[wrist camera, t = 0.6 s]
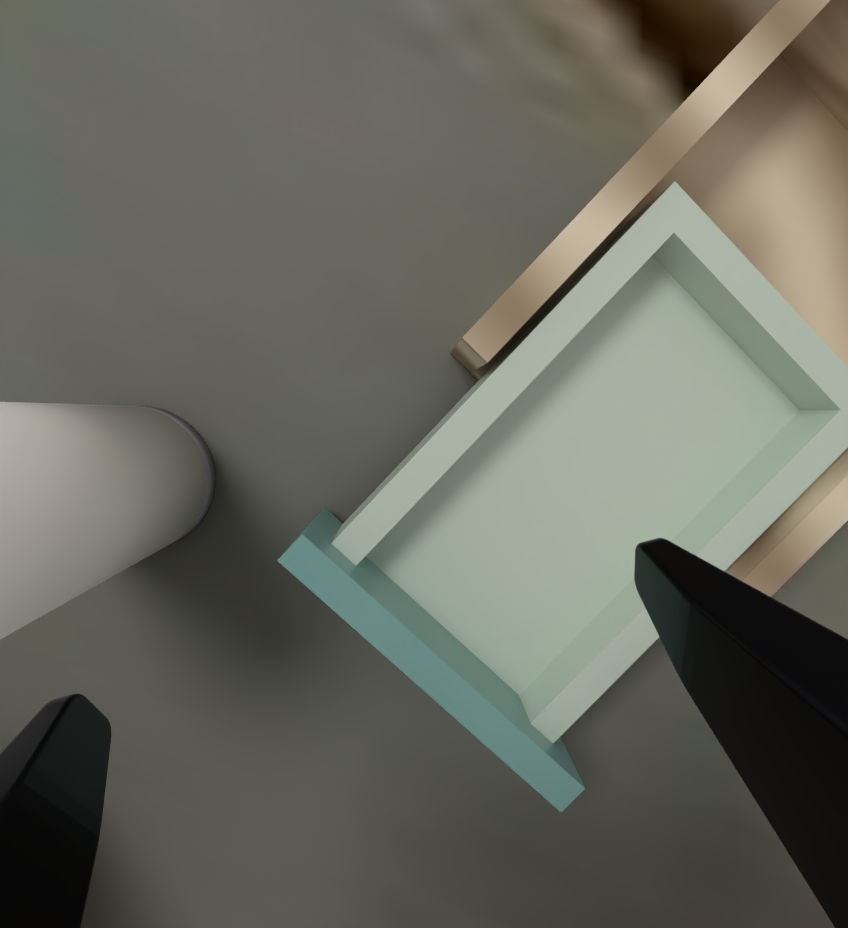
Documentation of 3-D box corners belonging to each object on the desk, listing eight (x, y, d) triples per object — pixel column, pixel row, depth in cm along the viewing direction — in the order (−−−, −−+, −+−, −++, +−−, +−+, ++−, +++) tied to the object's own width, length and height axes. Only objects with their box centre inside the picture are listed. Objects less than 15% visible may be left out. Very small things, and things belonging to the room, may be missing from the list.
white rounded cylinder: (151, 575, 23) (-176, 785, 10) (40, 480, 22) (-458, 572, 9) (245, 474, 23) (34, 555, 10) (135, 375, 22) (-244, 322, 9)
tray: (527, 728, 24) (561, 812, 19) (305, 527, 22) (276, 560, 17) (827, 425, 23) (946, 428, 18) (614, 200, 22) (677, 136, 17)
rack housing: (682, 579, 24) (748, 618, 19) (450, 352, 22) (462, 337, 18) (986, 272, 23) (1130, 237, 18) (764, 19, 22) (860, -86, 17)
